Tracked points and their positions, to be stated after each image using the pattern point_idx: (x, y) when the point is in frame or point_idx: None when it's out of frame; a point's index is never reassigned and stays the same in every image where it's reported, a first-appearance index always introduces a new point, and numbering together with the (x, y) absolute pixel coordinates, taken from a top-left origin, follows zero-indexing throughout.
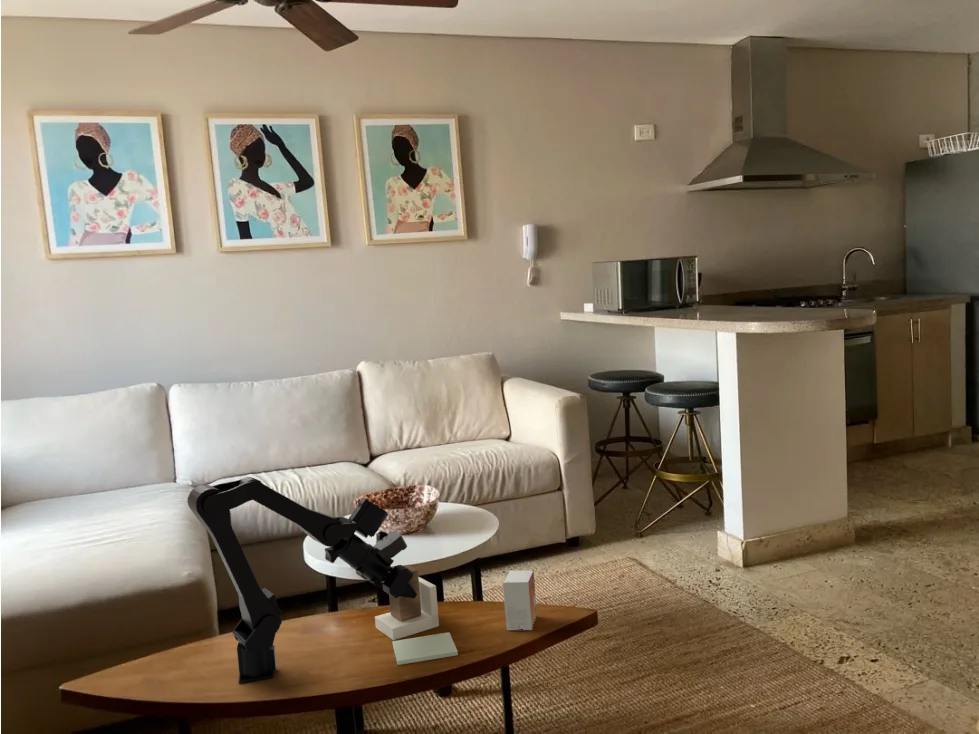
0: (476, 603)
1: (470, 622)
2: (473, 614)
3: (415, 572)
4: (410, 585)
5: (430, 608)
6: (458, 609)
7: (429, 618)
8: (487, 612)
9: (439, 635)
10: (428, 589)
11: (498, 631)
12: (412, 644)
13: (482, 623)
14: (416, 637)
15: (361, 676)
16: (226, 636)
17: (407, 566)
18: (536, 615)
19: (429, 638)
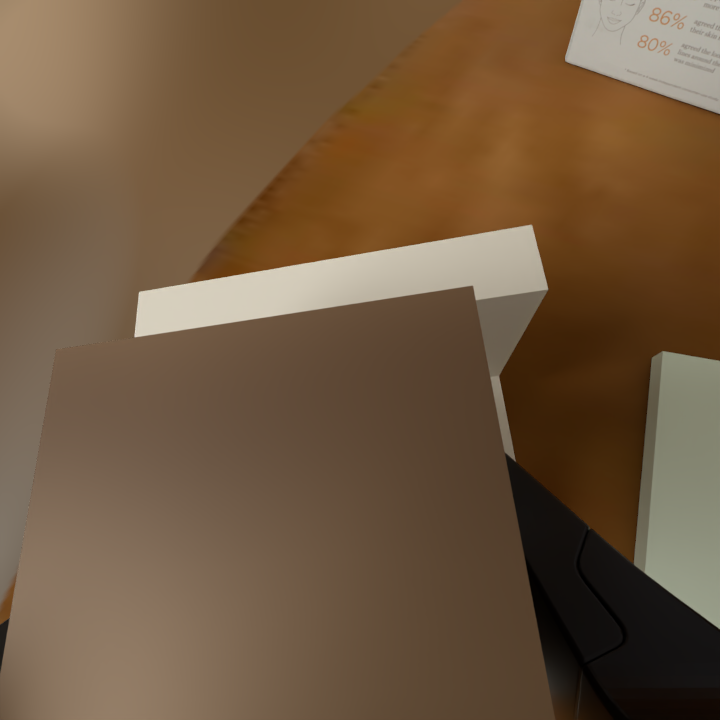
0: (329, 142)
1: (524, 219)
2: (438, 183)
3: (476, 349)
4: (591, 530)
5: (490, 362)
6: (340, 218)
7: (500, 395)
8: (453, 131)
9: (684, 414)
10: (509, 307)
11: (711, 149)
12: None
13: (569, 180)
14: (647, 549)
15: None
16: None
17: (110, 375)
18: None
19: (706, 484)
